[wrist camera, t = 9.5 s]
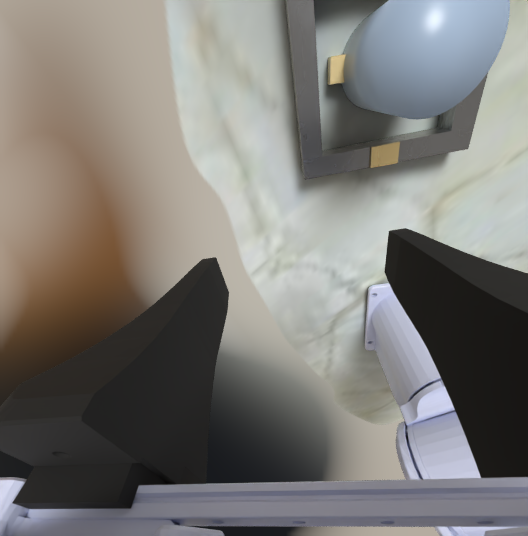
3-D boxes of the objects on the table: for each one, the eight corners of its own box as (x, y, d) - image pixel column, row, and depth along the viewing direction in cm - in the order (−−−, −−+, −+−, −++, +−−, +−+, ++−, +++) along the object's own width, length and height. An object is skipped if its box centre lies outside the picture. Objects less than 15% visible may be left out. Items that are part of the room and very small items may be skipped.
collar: (453, 144, 16) (470, 149, 15) (302, 173, 17) (305, 180, 16) (509, -106, 11) (545, -135, 9) (281, -35, 12) (282, -52, 10)
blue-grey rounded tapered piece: (447, -4, 12) (561, -65, 7) (425, 101, 15) (499, 108, 10) (328, 18, 13) (362, -25, 8) (327, 116, 15) (352, 129, 11)
